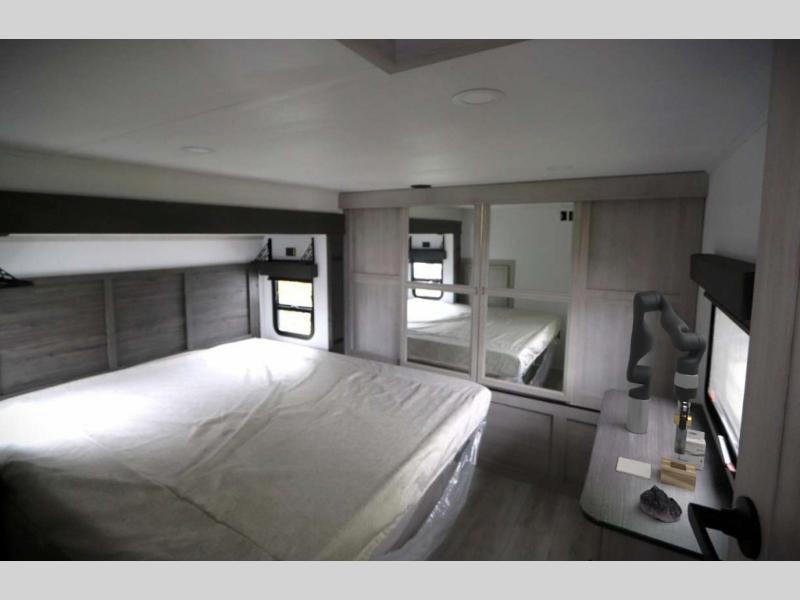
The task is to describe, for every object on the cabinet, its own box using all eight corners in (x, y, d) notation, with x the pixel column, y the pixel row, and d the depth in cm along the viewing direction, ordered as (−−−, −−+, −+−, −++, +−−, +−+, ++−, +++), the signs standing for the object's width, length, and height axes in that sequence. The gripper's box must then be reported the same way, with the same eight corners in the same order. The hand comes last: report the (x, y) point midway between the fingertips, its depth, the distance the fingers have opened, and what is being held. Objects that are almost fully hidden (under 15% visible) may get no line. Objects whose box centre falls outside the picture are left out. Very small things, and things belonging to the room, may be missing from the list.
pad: (618, 458, 181) (618, 456, 181) (650, 465, 174) (651, 464, 174) (616, 470, 171) (616, 469, 171) (650, 479, 164) (650, 478, 164)
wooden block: (660, 469, 171) (661, 456, 170) (693, 477, 165) (694, 463, 165) (660, 482, 162) (661, 468, 161) (694, 491, 156) (696, 476, 155)
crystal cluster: (674, 504, 150) (673, 477, 150) (690, 526, 137) (689, 496, 137) (633, 501, 154) (632, 475, 153) (645, 522, 140) (644, 494, 140)
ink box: (678, 465, 175) (681, 432, 173) (677, 460, 179) (680, 427, 177) (703, 470, 170) (706, 437, 168) (702, 465, 174) (705, 432, 172)
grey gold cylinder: (670, 447, 166) (674, 411, 164) (687, 451, 163) (691, 414, 161) (671, 453, 161) (674, 417, 159) (688, 457, 158) (692, 420, 156)
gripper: (673, 377, 166) (670, 417, 169) (674, 388, 154) (670, 430, 157) (696, 380, 162) (692, 421, 165) (699, 391, 150) (694, 435, 153)
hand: (682, 425), depth 161 cm, fingers closed on grey gold cylinder, 5 cm apart
